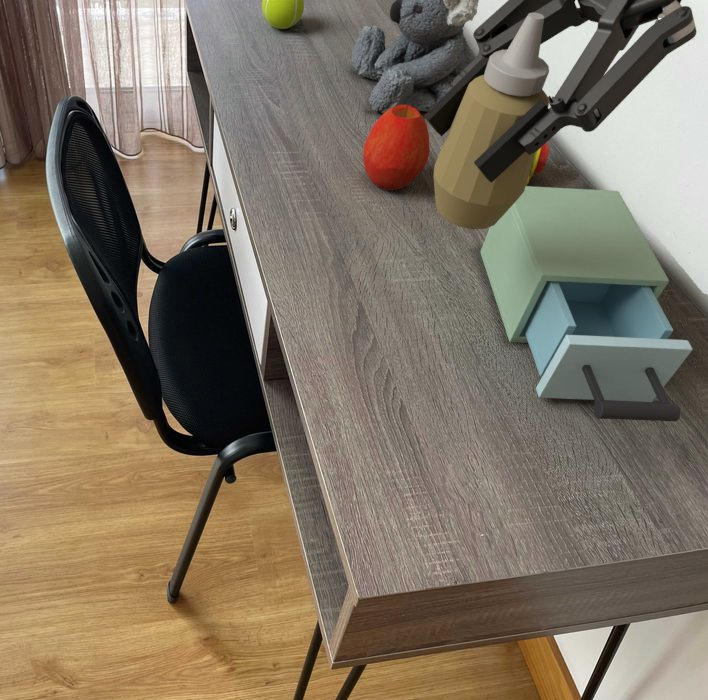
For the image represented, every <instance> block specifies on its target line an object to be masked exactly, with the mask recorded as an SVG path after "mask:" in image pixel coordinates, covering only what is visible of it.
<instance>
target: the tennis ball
mask: <svg viewBox="0 0 708 700" xmlns="http://www.w3.org/2000/svg"><path fill="white" fill-rule="evenodd" d="M304 10H305V1H304V0H261V12H262V15H263V18H264V20H265V21H266V22H267V23H268V24H269V25H270V26H271V27H273V28H275V29H279V30H286V29H290V28H292V27H293V26H295V25H296V24H298V22H299V21H300V19H301V18H302V16H303V13H304Z"/></svg>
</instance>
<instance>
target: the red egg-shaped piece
mask: <svg viewBox="0 0 708 700" xmlns="http://www.w3.org/2000/svg"><path fill="white" fill-rule="evenodd" d="M362 154H363V155H362V161H363V166H364V170H365V172H366V174H367V177H368V178H369V181H370V182H371V183H372V184H373V185H375V187H377V188H380V189H383V190H387V191H388V190H399V189H402V188H405V187H406V186H408V184H410V183H411V182H412V181H413V180H414V179H415V178H416V177H418V176H419V175H420V174H421V173H423V171H424V170H425V167H426V165H427V163H428V161H429V157H430V134H429V130H428V126H427V123H426V119H425V117H424V116H423V115H422V114H421V112H418V111H417V110H416V109H415V108H413V107H411V106H409V105H398V106H395V107H393V108H390V109H389V110H387V111H386V112H385V113H384V114H383V113H382V115H380V117H379V118H378V119H377V120H376V121H375V122H374V124H373V125H372V128H371V129H370V132H369V134H368V136H367V137H366V141H365V142H364V145H363V153H362Z"/></svg>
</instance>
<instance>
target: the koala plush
mask: <svg viewBox="0 0 708 700" xmlns="http://www.w3.org/2000/svg"><path fill="white" fill-rule="evenodd" d="M479 1H480V0H394V2H393V3H392V4H391V5H390V9H389V18H390V20H391V21H392V22H394V23H395V24H396V25H397V26H398V28H399V31H400V32H401V33H399V35H398V36H397V37H396V38H394V39H393V40H391V42H390V43H389V44H388V45H387V46H386V36H385V31H384V30H383V28H381V27H379V26H378V25H373V26H372V25H365V26H364V27H363V28H362V29H361V32H360V33H359V36H358V37H357V40H356V42H355V44H354V47H353V49H352V53H351V65H352V67H353V68H354V70H355V71H356V72H357V73H358V76H361V77H364V78H366V79H371V80H373V81H378V82H377V84H376V85H374V88H373V89H372V91H371V92H370V96H369V105H370V106H371V109H372V110H373V111H375V112H376V113H378V112H379V113H381V114H382V115H383V114H384V113H385V112H386V111H387V110H389V109H390V108H393V107H395V106H398V105H409V106H411V107H413V108H415V109H416V110H417V111H418V112H419V113H421V112H425V113H428V112H429V111H430V110H431V109H432V108H433V107H434V106H435V105H436V104H437V103H438V102H439V101H440V100H441V99H442V98H443V97H444V96H445V95H446V94H447V93H448V92H449V91H450V90H451V89H452V88H453V87H452V85H451V84H452V82H453V80H454V79H455V78H456V77H457V76H458V75H459V74H460V73H461V72H462V71H463V70H464V69H465V68H466V67H467V66H468V65H469V64H470V63H471V62H472V61H473V60H474V59H475V58H476V56H475V54H474V52H473V50H472V49H471V47H470V46H469V44H468V40H467V38H466V37H465V35H464V27H465V25H466V23H467V22H469V21H471V22H472V21H473V20H474V17H475V16H476V15H477V13H478V6H479Z"/></svg>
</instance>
